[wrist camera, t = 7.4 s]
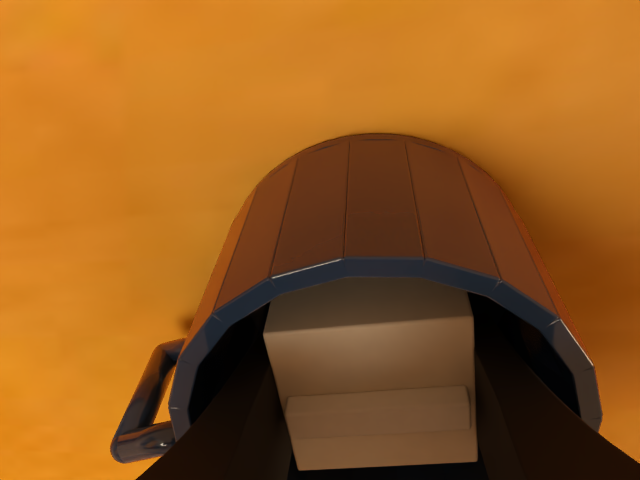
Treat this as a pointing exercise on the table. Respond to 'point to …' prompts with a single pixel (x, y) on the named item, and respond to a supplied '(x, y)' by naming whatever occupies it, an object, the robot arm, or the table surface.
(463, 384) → the tan ridged cube
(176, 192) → the table surface
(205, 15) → the table surface
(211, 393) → the mug
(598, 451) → the robot arm
